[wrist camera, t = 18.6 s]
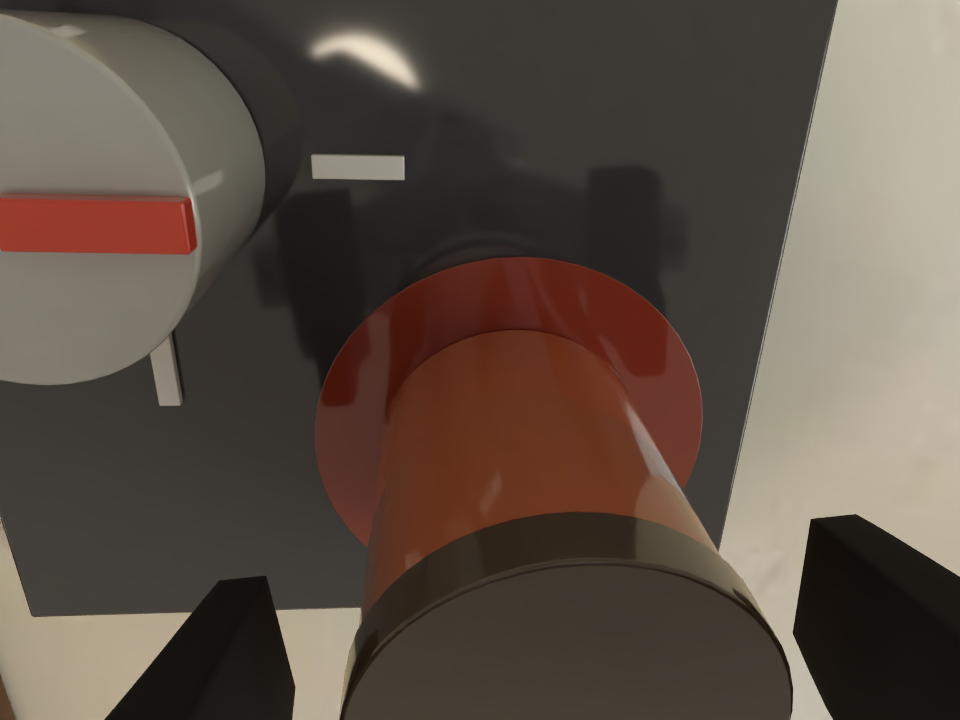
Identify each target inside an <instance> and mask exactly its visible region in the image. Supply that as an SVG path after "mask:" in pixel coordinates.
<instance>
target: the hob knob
mask: <svg viewBox="0 0 960 720" xmlns="http://www.w3.org/2000/svg"><path fill="white" fill-rule="evenodd" d="M264 192H265V164H264V157H263V151H262V147H261V143H260V140H259V136H258V132H257V130H256V127H255V125H254V123H253V120H252V118H251V115H250V113H249V111H248V110H247V108H246V106H245V104H244V102H243V101H242V99H241V97H240V95H239V94H238V93H237V91H236V90H235V89H234V87H233V86H232V84H231V83H230V82H229V80H228V79H227V78H226V77H225V76H224V75H223V74H222V73H221V71H220V70H219V69H218V68H217V67H216V66H215V65H214V64H213V63H212V62H211V61H210V60H208V59H207V58H206V57H205V56H204V55H203V54H202V53H200V52H199V51H198V50H197V49H195V48H194V47H192V46H191V45H189V44H188V43H187V42H185V41H184V40H182V39H181V38H179V37H177V36H175V35H173V34H171V33H169V32H167V31H166V30H164V29H162V28H159V27H156V26H154V25H151V24H149V23H146V22H143V21H140V20H136V19H132V18H128V17H123V16H115V15H106V14H90V13H70V12H49V11H29V10H9V9H0V380H2V381H9V382H15V383H21V384H34V385H60V384H72V383H78V382H84V381H90V380H94V379H98V378H101V377H104V376H107V375H111V374H114V373H116V372H118V371H120V370H123V369H125V368H127V367H129V366H131V365H133V364H135V363H136V362H138V361H139V360H141V359H142V358H144V357H145V356H147V355H149V354H150V353H151V352H152V351H153V350H155V349H156V348H157V347H158V346H159V345H160V344H161V343H162V342H164V341H165V340H166V339H167V337H168V336H169V335H170V334H171V333H172V331H173V330H174V329H175V328H176V327H177V325H178V324H179V323H180V322H181V321H182V320H183V318H184V317H185V316H186V315H187V314H188V312H189V311H190V310H191V309H192V308H193V306H194V305H195V304H196V303H197V302H198V301H199V299H200V298H201V297H202V296H203V295H204V293H205V292H206V291H207V290H208V289H209V287H210V286H211V285H212V284H213V283H214V282H215V280H216V279H217V278H218V277H219V276H220V274H221V273H222V272H223V271H224V270H225V268H226V267H227V266H228V265H229V264H230V263H231V261H232V260H233V259H234V258H235V257H236V255H237V254H238V253H239V252H240V251H241V249H242V248H243V247H244V246H245V244H246V243H247V241H248V239H249V238H250V236H251V234H252V233H253V231H254V229H255V226H256V224H257V221H258V219H259V216H260V213H261V209H262V205H263V201H264Z"/></svg>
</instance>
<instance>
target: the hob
mask: <svg viewBox="0 0 960 720" xmlns="http://www.w3.org/2000/svg"><path fill="white" fill-rule="evenodd" d="M837 3H838V0H0V9H9V10H29V11H49V12H70V13H90V14H106V15H115V16H123V17H128V18H132V19H136V20H140V21H143V22H146V23H149V24H151V25H154V26H156V27H159V28H162V29H164V30H166V31H167V32H169V33H171V34H173V35H175V36H177V37H179V38H181V39H182V40H184V41H185V42H187V43H188V44H189V45H191V46H192V47H194V48H195V49H197V50H198V51H199V52H200V53H202V54H203V55H204V56H205V57H206V58H207V59H208V60H210V61H211V62H212V63H213V64H214V65H215V66H216V67H217V68H218V69H219V70H220V71H221V73H222V74H223V75H224V76H225V77H226V78H227V79H228V80H229V82H230V83H231V84H232V86H233V87H234V89H235V90H236V91H237V93H238V94H239V95H240V97H241V99H242V101H243V102H244V104H245V106H246V108H247V110H248V111H249V113H250V115H251V118H252V120H253V123H254V125H255V127H256V130H257V132H258V136H259V140H260V143H261V147H262V151H263V157H264V164H265V192H264V201H263V205H262V209H261V213H260V216H259V219H258V221H257V224H256V226H255V229H254V231H253V233H252V234H251V236H250V238H249V239H248V241H247V243H246V244H245V246H244V247H243V248H242V249H241V251H240V252H239V253H238V254H237V255H236V257H235V258H234V259H233V260H232V261H231V263H230V264H229V265H228V266H227V267H226V268H225V270H224V271H223V272H222V273H221V274H220V276H219V277H218V278H217V279H216V280H215V282H214V283H213V284H212V285H211V286H210V287H209V289H208V290H207V291H206V292H205V293H204V295H203V296H202V297H201V298H200V299H199V301H198V302H197V303H196V304H195V305H194V306H193V308H192V309H191V310H190V311H189V312H188V314H187V315H186V316H185V317H184V318H183V320H182V321H181V322H180V323H179V324H178V325H177V327H176V328H175V329H174V330H173V331H172V333H171V334H170V335H169V336H168V337H167V339H166V340H165V341H164V342H162V343H161V344H160V345H159V346H158V347H157V348H156V349H155V350H153V351H152V352H151V353H150V354H149V355H147V356H145V357H144V358H142V359H141V360H139V361H138V362H136V363H135V364H133V365H131V366H129V367H127V368H125V369H123V370H120V371H118V372H116V373H114V374H111V375H107V376H104V377H101V378H98V379H94V380H90V381H84V382H78V383H72V384H60V385H34V384H21V383H15V382H9V381H2V380H0V517H1V520H2V523H3V526H4V530H5V533H6V536H7V539H8V542H9V546H10V549H11V552H12V555H13V558H14V561H15V565H16V568H17V571H18V574H19V577H20V581H21V584H22V587H23V590H24V593H25V596H26V600H27V603H28V606H29V609H30V612H31V615H32V616H33V617H47V616H82V615H118V614H153V613H188V612H193V611H194V610H195V609H196V607H197V606H198V605H199V604H200V603H201V601H202V600H203V599H204V598H205V597H206V595H207V594H208V593H209V592H210V590H211V589H212V588H213V587H214V586H215V585H216V584H217V582H218V581H219V580H228V579H238V578H247V577H257V576H267V580H268V584H269V588H270V592H271V596H272V599H273V603H274V607H275V610H294V609H330V608H361V604H362V595H363V586H364V577H365V568H366V560H367V551H368V548H367V547H366V546H365V545H364V544H363V543H361V542H360V540H359V539H358V538H357V537H356V536H355V535H354V534H353V533H352V532H351V531H350V530H349V528H348V527H347V526H346V525H345V523H344V522H343V520H342V519H341V517H340V516H339V515H338V513H337V512H336V510H335V509H334V507H333V505H332V503H331V501H330V499H329V497H328V495H327V493H326V491H325V488H324V485H323V482H322V479H321V476H320V472H319V469H318V464H317V458H316V451H315V419H316V413H317V406H318V401H319V397H320V394H321V391H322V388H323V385H324V381H325V378H326V376H327V374H328V372H329V370H330V368H331V366H332V363H333V361H334V359H335V357H336V355H337V354H338V352H339V351H340V349H341V348H342V346H343V345H344V343H345V342H346V341H347V339H348V338H349V336H350V335H351V333H352V332H353V331H354V330H355V329H356V328H357V327H358V326H359V325H360V324H361V322H362V321H363V320H364V319H365V318H366V317H367V316H368V315H369V314H370V313H371V312H372V311H374V310H375V309H376V308H377V307H378V306H380V305H381V304H382V303H383V302H384V301H386V300H387V299H388V298H389V297H391V296H392V295H394V294H396V293H397V292H399V291H400V290H402V289H403V288H405V287H407V286H408V285H410V284H411V283H413V282H415V281H417V280H420V279H422V278H424V277H426V276H428V275H430V274H432V273H435V272H437V271H439V270H443V269H446V268H449V267H452V266H455V265H458V264H461V263H465V262H470V261H475V260H481V259H486V258H492V257H506V256H533V257H547V258H553V259H558V260H563V261H568V262H573V263H577V264H580V265H583V266H586V267H589V268H591V269H594V270H597V271H600V272H603V273H605V274H606V275H608V276H610V277H612V278H614V279H616V280H618V281H620V282H622V283H624V284H626V285H627V286H629V287H630V288H631V289H633V290H634V291H636V292H637V293H638V294H640V295H641V296H643V297H644V298H645V299H647V300H648V301H649V302H650V303H651V304H652V305H653V306H654V307H655V308H656V309H657V310H658V311H659V312H660V313H661V314H662V315H663V316H664V317H665V318H666V320H667V321H668V322H669V324H670V325H671V326H672V327H673V329H674V330H675V331H676V333H677V334H678V335H679V337H680V339H681V340H682V342H683V344H684V346H685V348H686V350H687V351H688V353H689V355H690V357H691V360H692V363H693V366H694V368H695V371H696V374H697V377H698V381H699V386H700V392H701V397H702V415H703V423H702V432H701V440H700V446H699V449H698V453H697V457H696V461H695V464H694V467H693V469H692V472H691V474H690V476H689V479H688V481H687V484H686V485H685V487H684V489H683V490H684V492H685V494H686V495H687V497H688V499H689V501H690V503H691V504H692V506H693V508H694V510H695V512H696V513H697V515H698V517H699V519H700V520H701V522H702V524H703V526H704V528H705V529H706V531H707V533H708V535H709V537H710V538H711V540H712V542H713V544H714V545H715V547H716V549H717V551H718V552H719V548H720V543H721V538H722V534H723V529H724V525H725V520H726V515H727V511H728V506H729V501H730V497H731V492H732V488H733V483H734V478H735V474H736V469H737V465H738V460H739V455H740V451H741V446H742V441H743V437H744V432H745V428H746V423H747V418H748V414H749V409H750V404H751V400H752V395H753V391H754V386H755V381H756V377H757V372H758V367H759V363H760V358H761V354H762V349H763V344H764V340H765V335H766V331H767V326H768V321H769V317H770V312H771V307H772V303H773V298H774V294H775V289H776V284H777V280H778V275H779V270H780V266H781V261H782V257H783V252H784V247H785V243H786V238H787V234H788V229H789V224H790V220H791V215H792V210H793V206H794V201H795V197H796V192H797V187H798V183H799V178H800V173H801V169H802V164H803V160H804V155H805V150H806V146H807V141H808V136H809V132H810V127H811V123H812V118H813V113H814V109H815V104H816V100H817V95H818V90H819V86H820V81H821V76H822V72H823V67H824V63H825V58H826V53H827V49H828V44H829V39H830V35H831V30H832V26H833V21H834V16H835V12H836V7H837Z"/></svg>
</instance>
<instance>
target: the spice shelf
mask: <svg viewBox="0 0 960 720" xmlns="http://www.w3.org/2000/svg"><path fill="white" fill-rule="evenodd" d="M0 720H16V718H15V716H14V713H13V710H12V707H11V704H10V702H9V699H8V696H7V693H6V690H5V688H4V685H3V682H2V679H1V676H0Z"/></svg>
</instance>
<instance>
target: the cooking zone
mask: <svg viewBox="0 0 960 720" xmlns="http://www.w3.org/2000/svg"><path fill="white" fill-rule="evenodd" d="M505 330H528V331H538V332H544V333H549V334H554V335H557V336H560V337H563V338H566V339H569V340H571V341H573V342H575V343H577V344H580V345H582V346H584V347H586V348H587V349H589V350H590V351H592V352H593V353H595V354H596V355H598V356H599V357H600V358H601V359H602V360H604V361H605V362H606V363H607V364H608V365H609V366H610V367H611V368H612V369H613V370H614V371H615V373H616V374H617V375H618V376H619V377H620V379H621V380H622V382H623V384H624V385H625V387H626V388H627V390H628V392H629V394H630V395H631V397H632V399H633V401H634V403H635V404H636V406H637V408H638V410H639V411H640V413H641V415H642V417H643V419H644V420H645V422H646V424H647V426H648V428H649V429H650V431H651V433H652V435H653V436H654V438H655V440H656V442H657V444H658V445H659V447H660V449H661V451H662V453H663V454H664V456H665V458H666V460H667V461H668V463H669V465H670V467H671V469H672V470H673V472H674V474H675V476H676V478H677V479H678V481H679V483H680V485H681V487H682V488H683V489H684V487H685V485H686V484H687V481H688V479H689V476H690V474H691V472H692V469H693V467H694V464H695V461H696V457H697V453H698V449H699V446H700V440H701V432H702V423H703V415H702V397H701V392H700V386H699V381H698V377H697V374H696V371H695V368H694V366H693V363H692V360H691V357H690V355H689V353H688V351H687V350H686V348H685V346H684V344H683V342H682V340H681V339H680V337H679V335H678V334H677V333H676V331H675V330H674V329H673V327H672V326H671V325H670V324H669V322H668V321H667V320H666V318H665V317H664V316H663V315H662V314H661V313H660V312H659V311H658V310H657V309H656V308H655V307H654V306H653V305H652V304H651V303H650V302H649V301H648V300H647V299H645V298H644V297H643V296H641V295H640V294H638V293H637V292H636V291H634V290H633V289H631V288H630V287H629V286H627V285H626V284H624V283H622V282H620V281H618V280H616V279H614V278H612V277H610V276H608V275H606V274H605V273H603V272H600V271H597V270H594V269H591V268H589V267H586V266H583V265H580V264H577V263H573V262H568V261H563V260H558V259H553V258H547V257H533V256H506V257H492V258H486V259H481V260H475V261H470V262H465V263H461V264H458V265H455V266H452V267H449V268H446V269H443V270H439V271H437V272H435V273H432V274H430V275H428V276H426V277H424V278H422V279H420V280H417V281H415V282H413V283H411V284H410V285H408V286H407V287H405V288H403V289H402V290H400V291H399V292H397V293H396V294H394V295H392V296H391V297H389V298H388V299H387V300H386V301H384V302H383V303H382V304H381V305H380V306H378V307H377V308H376V309H375V310H374V311H372V312H371V313H370V314H369V315H368V316H367V317H366V318H365V319H364V320H363V321H362V322H361V324H360V325H359V326H358V327H357V328H356V329H355V330H354V331H353V332H352V333H351V335H350V336H349V338H348V339H347V341H346V342H345V343H344V345H343V346H342V348H341V349H340V351H339V352H338V354H337V355H336V357H335V359H334V361H333V363H332V366H331V368H330V370H329V372H328V374H327V376H326V378H325V381H324V385H323V388H322V391H321V394H320V397H319V401H318V406H317V413H316V419H315V451H316V458H317V464H318V469H319V472H320V476H321V479H322V482H323V485H324V488H325V491H326V493H327V495H328V497H329V499H330V501H331V503H332V505H333V507H334V509H335V510H336V512H337V513H338V515H339V516H340V517H341V519H342V520H343V522H344V523H345V525H346V526H347V527H348V528H349V530H350V531H351V532H352V533H353V534H354V535H355V536H356V537H357V538H358V539H359V540H360V542H361V543H363V544H364V545H365V546H366V547H367V548H368V542H369V533H370V524H371V515H372V506H373V498H374V489H375V480H376V471H377V462H378V453H379V444H380V436H381V431H382V426H383V421H384V418H385V416H386V413H387V410H388V407H389V405H390V403H391V402H392V400H393V398H394V396H395V394H396V392H397V391H398V390H399V388H400V387H401V386H402V384H403V383H404V381H405V380H406V379H407V378H408V377H409V376H410V375H411V374H412V373H413V372H414V371H415V370H416V369H417V367H419V366H420V365H421V364H422V363H424V362H425V361H426V360H427V359H429V358H430V357H431V356H433V355H434V354H436V353H438V352H439V351H441V350H443V349H444V348H446V347H448V346H450V345H452V344H455V343H457V342H459V341H461V340H464V339H467V338H470V337H473V336H476V335H480V334H484V333H490V332H495V331H505Z"/></svg>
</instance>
